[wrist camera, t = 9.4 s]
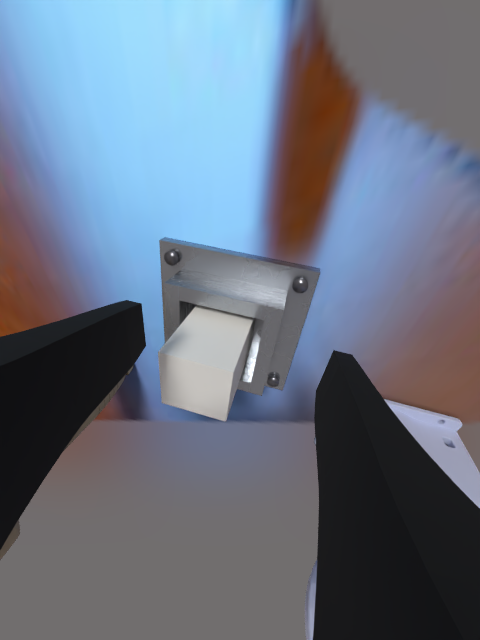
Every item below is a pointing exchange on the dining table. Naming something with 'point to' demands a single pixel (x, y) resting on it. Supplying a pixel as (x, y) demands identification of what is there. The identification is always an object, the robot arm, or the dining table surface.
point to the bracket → (241, 301)
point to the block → (205, 361)
